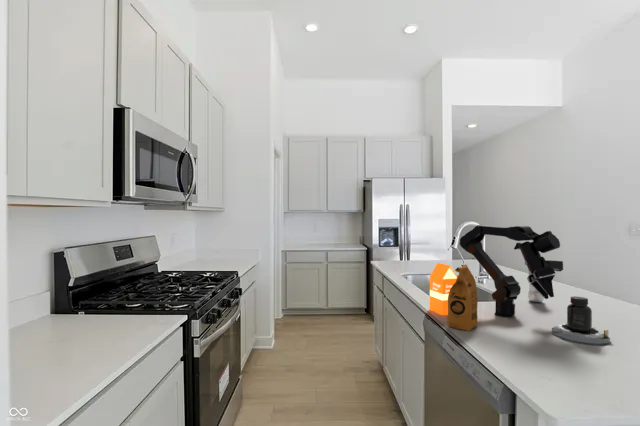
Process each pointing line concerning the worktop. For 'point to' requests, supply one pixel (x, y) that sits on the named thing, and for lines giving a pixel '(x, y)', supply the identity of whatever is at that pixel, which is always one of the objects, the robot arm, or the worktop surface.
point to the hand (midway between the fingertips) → (549, 298)
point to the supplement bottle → (579, 316)
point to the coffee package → (463, 301)
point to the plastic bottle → (534, 294)
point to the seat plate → (581, 335)
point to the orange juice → (441, 287)
